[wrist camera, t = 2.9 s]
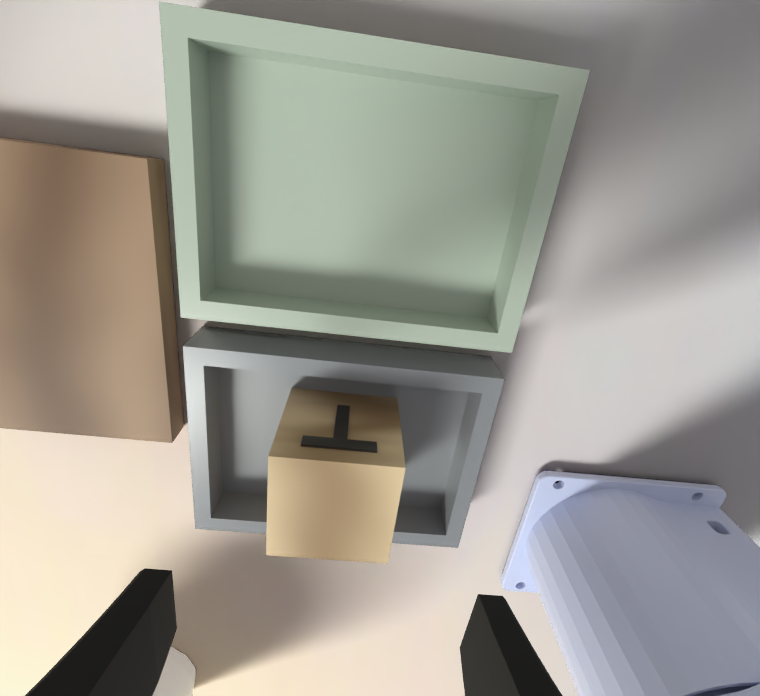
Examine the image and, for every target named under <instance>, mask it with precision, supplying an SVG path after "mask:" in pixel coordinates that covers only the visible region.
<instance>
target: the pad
mask: <svg viewBox="0 0 760 696" xmlns="http://www.w3.org/2000/svg"><path fill="white" fill-rule="evenodd" d="M183 427H184V425H183V411H182V398H181V384H180V371H179V357H178V344H177V330H176V317H175V303H174V290H173V276H172V263H171V250H170V236H169V223H168V209H167V196H166V182H165V169H164V159H160V158H152V157H145V156H137V155H130V154H122V153H115V152H107V151H100V150H92V149H85V148H77V147H70V146H62V145H54V144H47V143H39V142H32V141H24V140H17V139H9V138H2V137H0V428H6V429H18V430H29V431H41V432H53V433H64V434H76V435H87V436H99V437H111V438H122V439H134V440H146V441H157V442H169V443H172V442H173V441H174V439H175V438H176V437H177V435H178V434H179V432H180V431H181V429H182V428H183Z"/></svg>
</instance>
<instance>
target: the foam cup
mask: <svg viewBox="0 0 760 696" xmlns="http://www.w3.org/2000/svg"><path fill="white" fill-rule="evenodd" d="M195 675H196V668H195V667H194V665H193V664H192V663H191V661H190V660H189V658H188V657H187V656H186V655H185V654H183V653H181V652H180V651H178V650H176V649H175V648H173V647H170V650H169V653H168V656H167V659H166V662H165V665H164V668H163V670H162V673H161V676H160V679H159V682H158V684H157V686H156V689H155V691H154V693H153V696H192V695H193V687H194V684H195Z"/></svg>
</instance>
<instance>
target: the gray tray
mask: <svg viewBox="0 0 760 696" xmlns="http://www.w3.org/2000/svg"><path fill="white" fill-rule="evenodd" d="M183 357H184V372H185V386H186V401H187V415H188V430H189V444H190V459H191V474H192V488H193V503H194V517H195V529H206V530H219V531H233V532H247V533H261V534H266V530H267V486H268V455H269V452H270V449H271V447H272V444H273V441H274V438H275V435H276V432H277V429H278V426H279V423H280V420H281V417H282V414H283V411H284V408H285V405H286V403H287V400H288V397H289V394H290V391H291V388H300V389H310V390H321V391H331V392H341V393H352V394H362V395H372V396H382V397H393V398H397V399H398V407H399V416H400V424H401V433H402V441H403V450H404V458H405V467H406V469H405V474H404V479H403V485H402V490H401V495H400V501H399V506H398V511H397V517H396V522H395V527H394V533H393V538H392V543H400V544H414V545H428V546H442V547H456V548H458V546H459V542H460V539H461V535H462V531H463V528H464V524H465V521H466V517H467V513H468V510H469V506H470V503H471V499H472V495H473V492H474V488H475V484H476V481H477V477H478V474H479V470H480V466H481V463H482V459H483V456H484V452H485V448H486V445H487V441H488V438H489V434H490V430H491V427H492V423H493V419H494V416H495V412H496V409H497V405H498V401H499V398H500V394H501V391H502V387H503V383H504V380H505V379H504V377H503V376H502V374H501V372H500V371H499V369H498V368H497V366H496V364H495V363H494V361H493V359H492V358H491V357H489V356H480V355H470V354H461V353H451V352H442V351H432V350H423V349H414V348H404V347H395V346H385V345H376V344H366V343H357V342H347V341H338V340H329V339H319V338H310V337H300V336H291V335H281V334H272V333H262V332H253V331H244V330H234V329H225V328H215V327H206V326H202V327H201V328H200V329H199V330H198V331H197V332H196V333H195V334H194V335H193V336H192V337H191V338H190V339H189V340H188V341H187V342H186V343H185V344H184V345H183Z"/></svg>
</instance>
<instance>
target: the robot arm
mask: <svg viewBox="0 0 760 696" xmlns="http://www.w3.org/2000/svg"><path fill="white" fill-rule="evenodd" d="M556 481H559V482H558V483H555V482H556ZM725 498H726V492H725V491H724V490H723V489H722V488H720V487H719V486H717V485H707V484H696V483H684V482H673V481H661V480H650V479H638V478H627V477H615V476H603V475H592V474H580V473H569V472H557V471H543V472H541V473H539V474H538V475H537V477H536V479H535V481H534V484H533V487H532V490H531V493H530V496H529V499H528V502H527V504H526V507H525V510H524V513H523V516H522V519H521V522H520V525H519V528H518V530H517V533H516V536H515V539H514V542H513V545H512V548H511V551H510V553H509V556H508V559H507V562H506V565H505V568H504V571H503V574H502V576H501V584H502V587H503V588H504V589H505V590H508V591H521V592H536V593H539V596H540V598H541V601H542V603H543V606H544V608H545V611H546V614H547V616H548V619H549V621H550V624H551V626H552V629H553V632H554V634H555V637H556V639H557V642H558V644H559V647H560V649H561V652H562V655H563V657H564V660H565V662H566V665H567V667H568V670H569V672H570V675H571V678H572V680H573V683H574V685H575V688H576V690H577V693H578V695H579V696H760V547H759V546H758V545H757V544H756V543H755V542H754V541H753V540H752V539H751V538H750V537H749V536H748V535H747V534H746V533H745V532H744V531H743V530H742V529H741V528H740V527H739V526H738V525H737V524H736V523H735V522H734V521H733V520H732V519H730V518H729V517H728V516H727V515H726V514H725V513H724V512H723V511H722V510H721V509H720V507H721V505H722V504H723V502H724V500H725ZM176 629H177V626H176V614H175V602H174V590H173V578H172V571H169V570H156V569H143V570H142V571H140V572H139V573H138V574H137V576H136V577H135V578H134V579H133V580H132V581H131V583H130V584H129V585H128V586H127V587H126V588H125V590H124V591H123V592H122V593H121V594H120V595H119V596H118V598H117V599H116V600H115V601H114V602H113V603H112V604H111V605H110V607H109V608H108V609H107V610H106V611H105V612H104V613H103V614H102V615H101V617H100V618H99V619H98V620H97V621H96V622H95V623H94V624H93V625H92V626H91V628H90V629H89V630H88V631H87V632H86V633H85V634H84V635H83V636H82V637H81V638H80V639H79V640H78V642H77V643H76V644H75V645H74V646H73V647H72V648H71V649H70V650H69V651H68V652H67V653H66V654H65V655H64V656H63V657H62V658H61V659H60V660H59V662H58V663H57V664H56V665H55V666H54V667H53V668H52V669H51V670H50V671H49V672H48V673H47V674H46V675H45V676H44V677H43V678H42V679H41V680H40V681H39V682H38V683H37V684H36V685H35V686H34V687H33V688H32V689H31V690H30V691H29V692H28V693H27V694H26V695H25V696H153V693H154V691H155V689H156V686H157V684H158V682H159V679H160V676H161V673H162V670H163V668H164V665H165V662H166V659H167V656H168V653H169V650H170V647H171V644H172V641H173V638H174V635H175V632H176ZM460 653H461V662H462V672H463V681H464V689H465V696H562V694H561V693H560V691H559V690H558V688H557V686H556V685H555V683H554V682H553V680H552V679H551V677H550V675H549V674H548V672H547V670H546V669H545V667H544V665H543V664H542V662H541V660H540V659H539V657H538V655H537V654H536V652H535V650H534V648H533V647H532V645H531V643H530V642H529V640H528V638H527V637H526V635H525V633H524V631H523V630H522V628H521V626H520V624H519V623H518V621H517V619H516V617H515V615H514V614H513V612H512V610H511V608H510V607H509V605H508V603H507V601H506V600H505V598H504V597H503V596H494V595H481V594H478V596H477V599H476V602H475V605H474V608H473V611H472V614H471V617H470V620H469V623H468V625H467V628H466V631H465V634H464V637H463V640H462V643H461V646H460Z"/></svg>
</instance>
